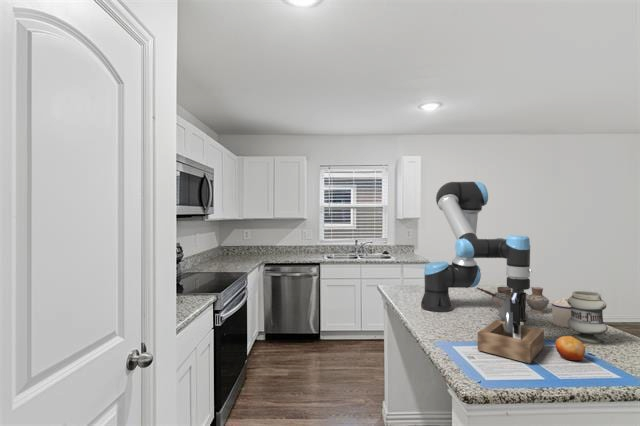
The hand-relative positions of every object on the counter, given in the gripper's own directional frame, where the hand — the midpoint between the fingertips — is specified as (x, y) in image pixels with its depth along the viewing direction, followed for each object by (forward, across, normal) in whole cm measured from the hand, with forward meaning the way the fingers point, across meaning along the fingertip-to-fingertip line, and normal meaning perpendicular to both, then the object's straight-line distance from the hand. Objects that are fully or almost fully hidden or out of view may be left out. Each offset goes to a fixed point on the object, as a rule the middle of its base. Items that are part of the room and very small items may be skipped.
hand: (518, 340), depth 129 cm
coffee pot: (+1, +24, +13) cm, 28 cm away
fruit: (+1, -4, -16) cm, 17 cm away
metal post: (+1, -12, 0) cm, 12 cm away
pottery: (+2, +51, +12) cm, 53 cm away
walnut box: (0, -8, 0) cm, 9 cm away
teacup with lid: (+1, +39, -8) cm, 40 cm away
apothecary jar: (+1, +21, -18) cm, 28 cm away
